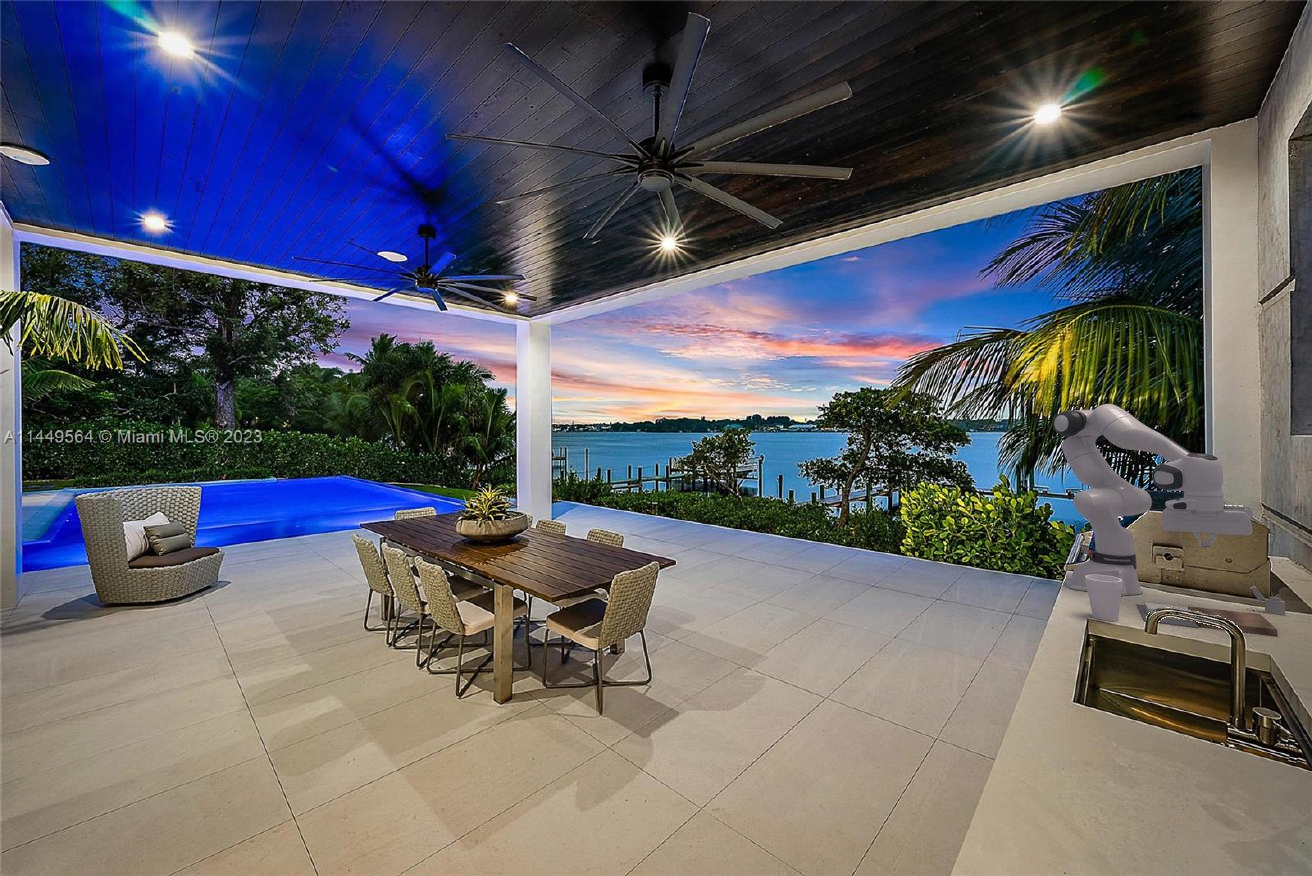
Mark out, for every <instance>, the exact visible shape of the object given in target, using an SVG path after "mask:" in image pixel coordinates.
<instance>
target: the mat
mask: <svg viewBox="0 0 1312 876" xmlns="http://www.w3.org/2000/svg"><path fill="white" fill-rule="evenodd" d="M1135 605H1136V607H1137V610H1138V612H1139V613H1140V616H1141V619H1142V620H1143V621H1144V622H1145V620H1146V616H1147V615H1148V614H1147V612H1146V610H1145V604H1138V603H1136V604H1135ZM1158 624H1161V625H1162V624H1163V625H1170V626H1179V627H1187V628H1195V629H1199V628H1200V627H1199V626H1198V625H1197V624H1196V622H1194V621H1186V620H1177V619H1169V618H1164V619H1162V620H1160V622H1159V623H1158Z"/></svg>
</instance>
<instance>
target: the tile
mask: <svg viewBox="0 0 1312 876" xmlns="http://www.w3.org/2000/svg"><path fill="white" fill-rule="evenodd" d="M1144 605H1145V610H1146V612H1147V614H1148V613H1149V612H1151V611H1153V610H1155V609H1157V608H1161V607H1164V606H1173V607H1178V608H1182V609H1187V610H1189V609H1188V606H1183V605H1171V604H1162V603H1152V602H1144ZM1166 618H1169V619H1177V620H1183V619H1178V618H1174V617H1166ZM1186 621H1190V620H1186Z"/></svg>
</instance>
